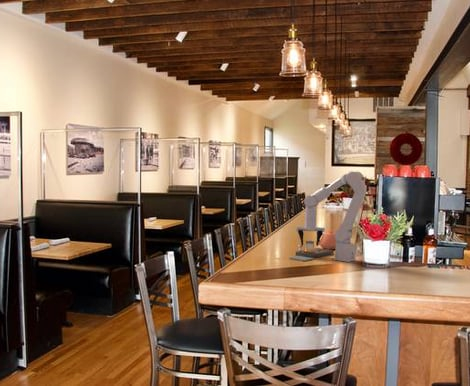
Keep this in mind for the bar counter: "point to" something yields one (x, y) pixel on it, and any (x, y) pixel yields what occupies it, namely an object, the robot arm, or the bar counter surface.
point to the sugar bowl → (328, 241)
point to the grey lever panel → (318, 253)
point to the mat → (301, 258)
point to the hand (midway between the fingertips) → (309, 245)
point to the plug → (309, 247)
